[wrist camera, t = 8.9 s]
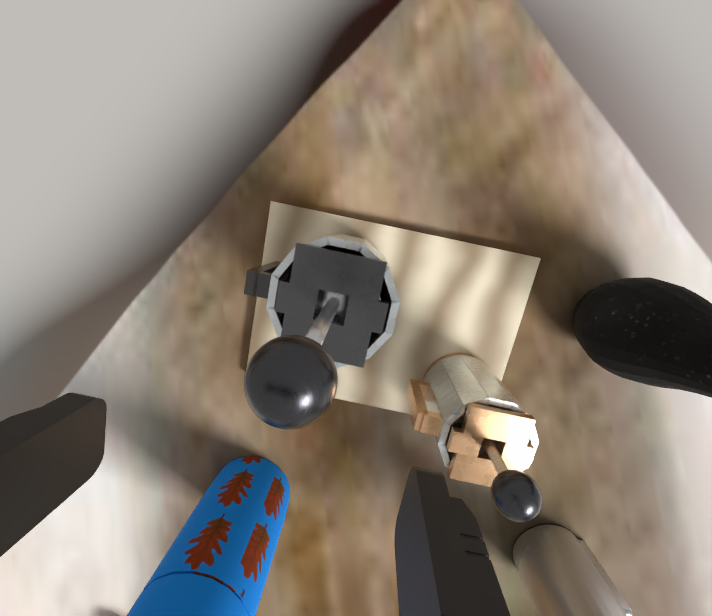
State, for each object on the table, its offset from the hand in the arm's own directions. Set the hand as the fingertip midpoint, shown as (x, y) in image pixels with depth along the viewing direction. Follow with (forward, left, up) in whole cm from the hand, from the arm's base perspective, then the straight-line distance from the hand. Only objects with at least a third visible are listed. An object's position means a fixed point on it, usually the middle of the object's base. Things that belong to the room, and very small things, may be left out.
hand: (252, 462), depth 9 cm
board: (-5, +4, -35) cm, 35 cm away
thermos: (+7, +32, -35) cm, 48 cm away
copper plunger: (-16, +10, -28) cm, 34 cm away
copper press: (-15, +10, -33) cm, 38 cm away
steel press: (+1, 0, -33) cm, 33 cm away
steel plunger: (0, 0, -20) cm, 20 cm away
